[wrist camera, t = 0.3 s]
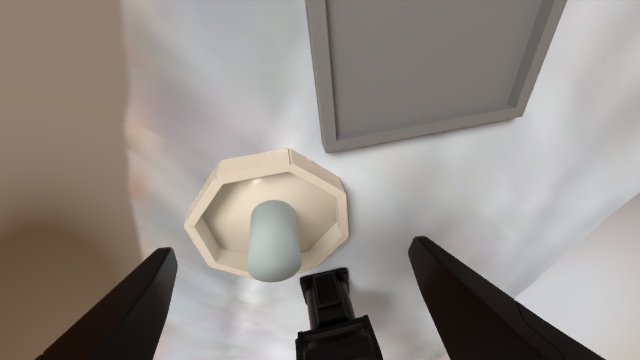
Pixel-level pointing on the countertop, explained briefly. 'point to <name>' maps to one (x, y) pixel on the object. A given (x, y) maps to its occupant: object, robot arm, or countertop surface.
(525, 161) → the countertop surface
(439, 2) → the tray
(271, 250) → the peg
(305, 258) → the bowl
